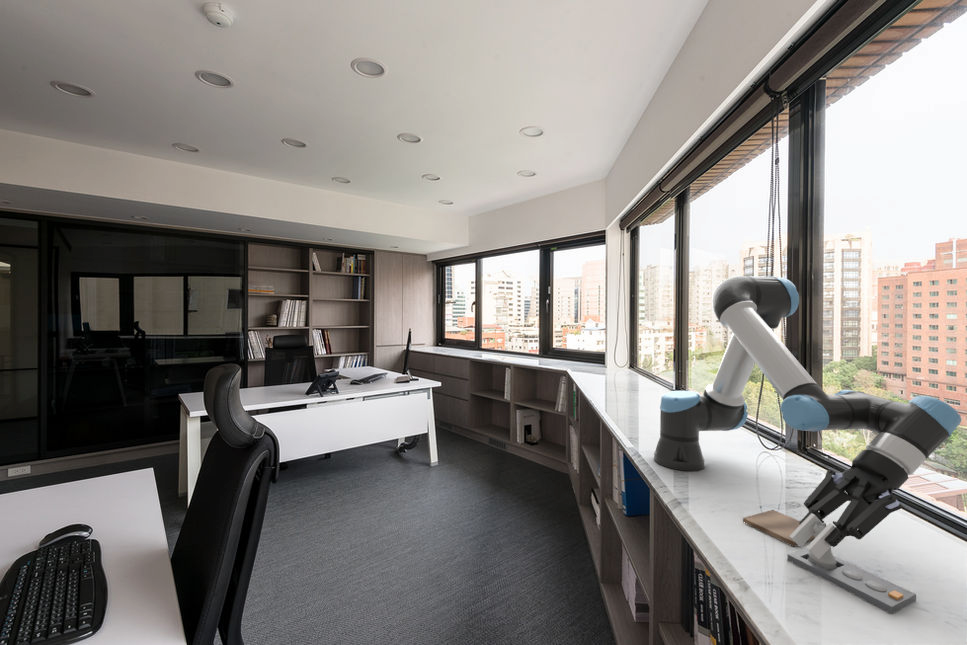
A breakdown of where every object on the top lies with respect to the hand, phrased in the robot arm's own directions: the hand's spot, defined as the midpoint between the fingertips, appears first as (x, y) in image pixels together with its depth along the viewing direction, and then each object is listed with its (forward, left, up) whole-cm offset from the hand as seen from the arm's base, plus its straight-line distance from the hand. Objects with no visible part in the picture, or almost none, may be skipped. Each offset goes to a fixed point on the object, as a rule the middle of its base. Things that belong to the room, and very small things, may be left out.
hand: (803, 547), depth 80 cm
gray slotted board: (+5, +4, -4) cm, 8 cm away
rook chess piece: (+1, +4, -4) cm, 6 cm away
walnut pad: (-11, +12, -4) cm, 16 cm away
